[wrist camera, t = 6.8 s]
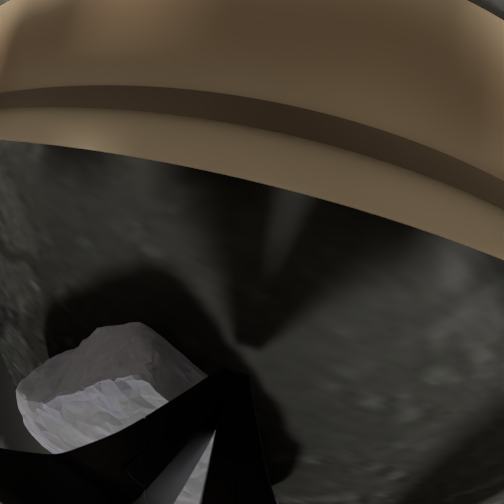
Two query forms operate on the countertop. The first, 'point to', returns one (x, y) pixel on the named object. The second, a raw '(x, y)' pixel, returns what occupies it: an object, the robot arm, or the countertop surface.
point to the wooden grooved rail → (278, 97)
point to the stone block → (108, 391)
